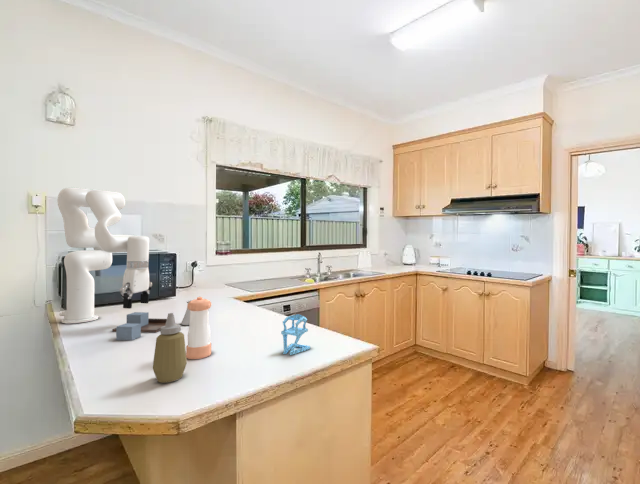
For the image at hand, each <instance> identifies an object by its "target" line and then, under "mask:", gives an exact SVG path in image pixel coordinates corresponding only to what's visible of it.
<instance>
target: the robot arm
mask: <svg viewBox="0 0 640 484" xmlns="http://www.w3.org/2000/svg"><path fill="white" fill-rule="evenodd" d="M56 201H57V202H56V203H57V206H58V210H59V212H60V215H61V217H62V220H63V228H64V237H65V243H66V245H67V246H68V247H70V248H73V249H85V250H73V251H70V252H68V253H67V254H66V255H65V256H64V259H63V265H64V269H65V274H66V310H63V311H61V312H59V314H58V316H60V317H63V318H62V319H61V323H62V324H67V325H69V324H82V323H87V322H92V321H96V320H98V319H99V315H98V314H95V291H96V290H95V288H96V287H95V284H96V283H95V278H94V276H93V275H92V274H91V273H90V272H92V271H102V270H103V271H104V270H107V269H109V268H111V266H112V263H113V254H114V253H115V254H116V253H126V268H125V269H124V272H123V278H122V286H121V287H120V288H119V289H118V291H119V293H120V296H121V298H122V299H123V300H122V308H123V309H130V310H131V309H132V308H133V298H132V297H133V295H134V294H137V293H140V304H149V299H150V293H151V290H152V286H153V282H152V281H150V269H149V265H150V264H149V262H150V260H149V259H150V238H149V236H147V235H136V234H113V233H111V232H110V230H109V228H108V227H111V226H113V225H116V224H117V223H119V222H120V221H121V219H122V213H121V212H120V210H123V209H124V207H126V198H125V196H124V195H123V194H122V193H121V192H119V191H114V190H107V189H105V190H104V189H94V188H93V189H92V188H86V187H85V188H84V187H74V186H73V187H72V186H71V187H65V188H63V189H61V190H60V191H59V193H58V195H57V200H56ZM81 208H89V209H90V211H91V212H92V213H93V215H94V217H95V218H96V220H97V222H96V224H95V226H94V227H91V226H90V224H89V218H88V216H87V214H86V213H85V212H84V210H83V209H81ZM88 248H91V250H90V249H89V250H88ZM92 248H93V249H92ZM86 249H87V250H86Z"/></svg>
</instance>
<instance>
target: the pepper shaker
mask: <svg viewBox="0 0 640 484" xmlns="http://www.w3.org/2000/svg"><path fill="white" fill-rule="evenodd" d="M189 301H190V300H189ZM187 307H188V309H189V310H190V325H188V331H187V345H185V349H186V359H188V360H199V359H205V358H207V357H210V356H212V343H211V327H210V322H209V321H210V317H209V315H210V309H211V307H212V302H211V300H210V299H207V298H203V297H202V296H198V297H196V298H194V299H192V301H190V302H189V303H188V305H186V308H187Z"/></svg>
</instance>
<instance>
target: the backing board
mask: <svg viewBox="0 0 640 484" xmlns="http://www.w3.org/2000/svg"><path fill="white" fill-rule="evenodd" d="M166 321H167V318H153V317H152V318H149V317H148V324H147V325H145V326H142V327H141V333H158V332H161V327H163V326H165V324H166ZM111 331H112V332H115V333H116V327H115V328H112V329H111Z"/></svg>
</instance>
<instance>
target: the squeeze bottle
mask: <svg viewBox="0 0 640 484" xmlns="http://www.w3.org/2000/svg"><path fill="white" fill-rule="evenodd" d="M166 319H167V321H166V324H165V326H163V327H161V330H160V334H159V335H158V336H157V337H156V339H155V345H154V352H153V354H154V355H153V362H152V371H153V373H154V375H155V379H156V382H157V383H160V384H161V383H163V384H164V383H165V384H166V383H171V382H175V381H178V380H180V379H181V378H182V377H183V375H184V373H185V369H186V367H187V365H188V360H187V359H188V358H187V357H186V341H185V334H184V332H181V324H177V323H176V318H175V315H174V312H169V313H167V317H166Z"/></svg>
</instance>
